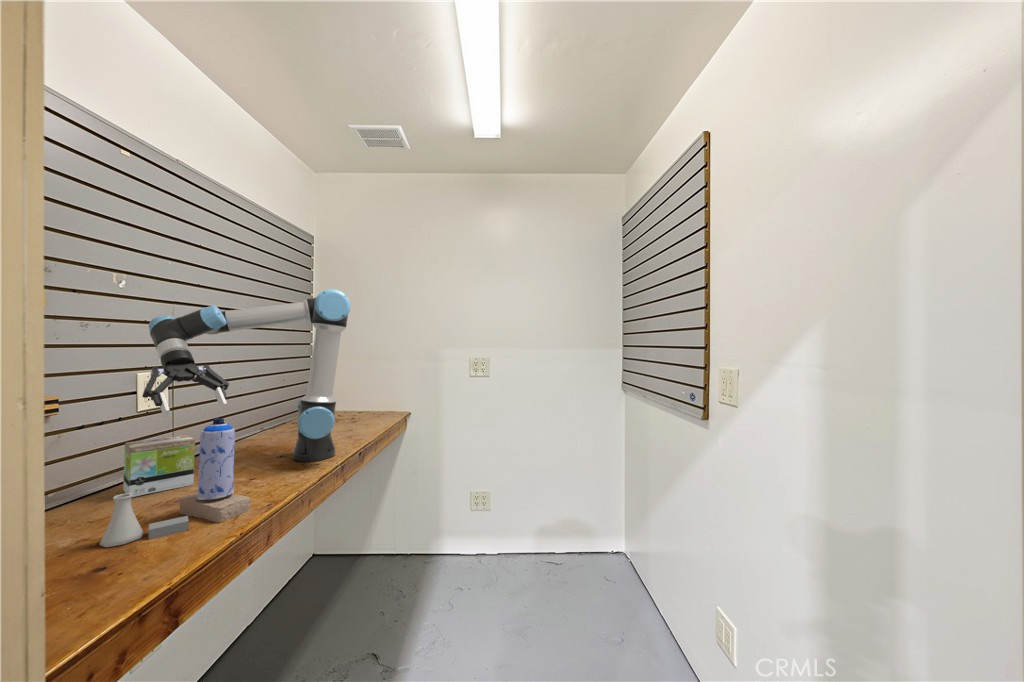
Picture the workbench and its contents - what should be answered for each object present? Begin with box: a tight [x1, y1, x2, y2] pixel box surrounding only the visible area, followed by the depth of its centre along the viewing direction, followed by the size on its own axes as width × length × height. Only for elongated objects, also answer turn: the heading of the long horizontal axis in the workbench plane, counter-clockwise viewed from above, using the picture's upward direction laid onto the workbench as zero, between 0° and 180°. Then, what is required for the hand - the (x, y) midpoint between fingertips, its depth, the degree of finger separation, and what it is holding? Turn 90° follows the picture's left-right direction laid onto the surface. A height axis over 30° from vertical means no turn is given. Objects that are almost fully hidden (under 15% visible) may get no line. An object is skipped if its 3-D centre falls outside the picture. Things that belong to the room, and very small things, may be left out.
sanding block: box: [148, 515, 190, 540], centre depth 93 cm, size 7×4×2 cm, turn 131°
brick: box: [179, 491, 252, 523], centre depth 105 cm, size 16×8×5 cm, turn 69°
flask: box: [99, 493, 145, 548], centre depth 89 cm, size 7×7×10 cm
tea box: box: [122, 434, 196, 499], centre depth 122 cm, size 15×10×15 cm
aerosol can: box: [197, 417, 236, 500], centre depth 106 cm, size 8×8×20 cm
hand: (196, 409), depth 113 cm, fingers open, 13 cm apart
